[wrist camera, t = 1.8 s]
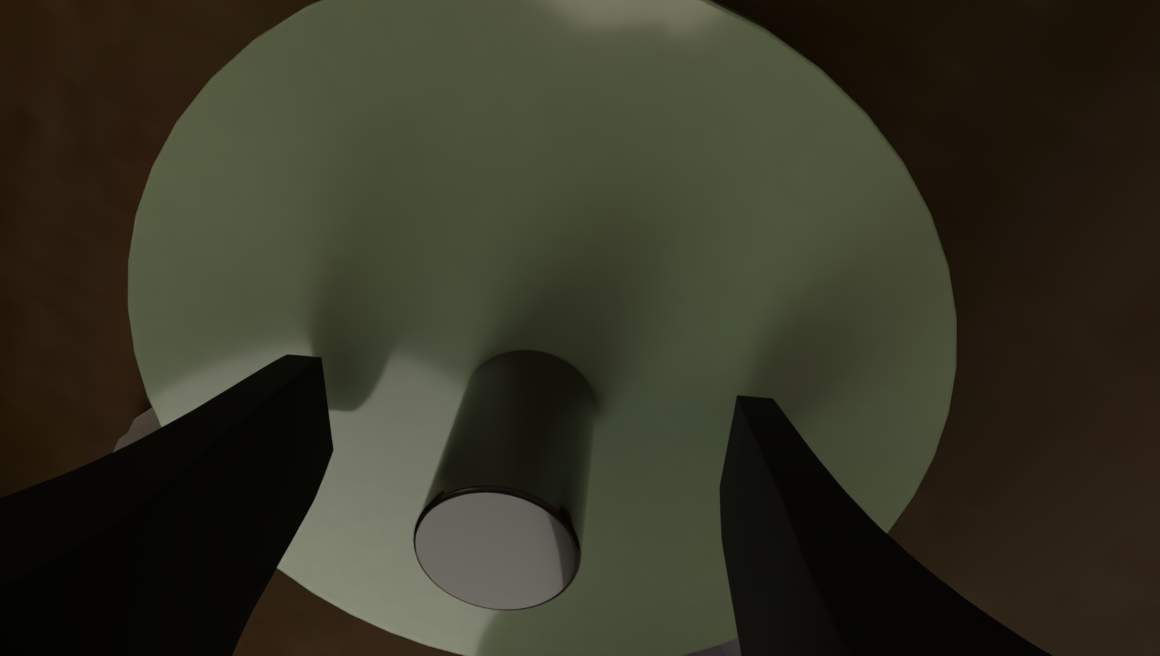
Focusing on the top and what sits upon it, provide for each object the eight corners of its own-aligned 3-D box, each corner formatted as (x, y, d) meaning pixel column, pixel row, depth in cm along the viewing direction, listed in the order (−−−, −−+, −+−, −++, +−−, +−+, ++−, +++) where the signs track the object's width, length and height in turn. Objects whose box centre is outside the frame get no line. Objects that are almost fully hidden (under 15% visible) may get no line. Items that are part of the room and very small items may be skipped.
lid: (963, 579, 17) (1062, 803, 13) (357, 663, 20) (281, 865, 16) (891, -200, 10) (1053, -254, 6) (-4, 106, 13) (-295, 205, 9)
